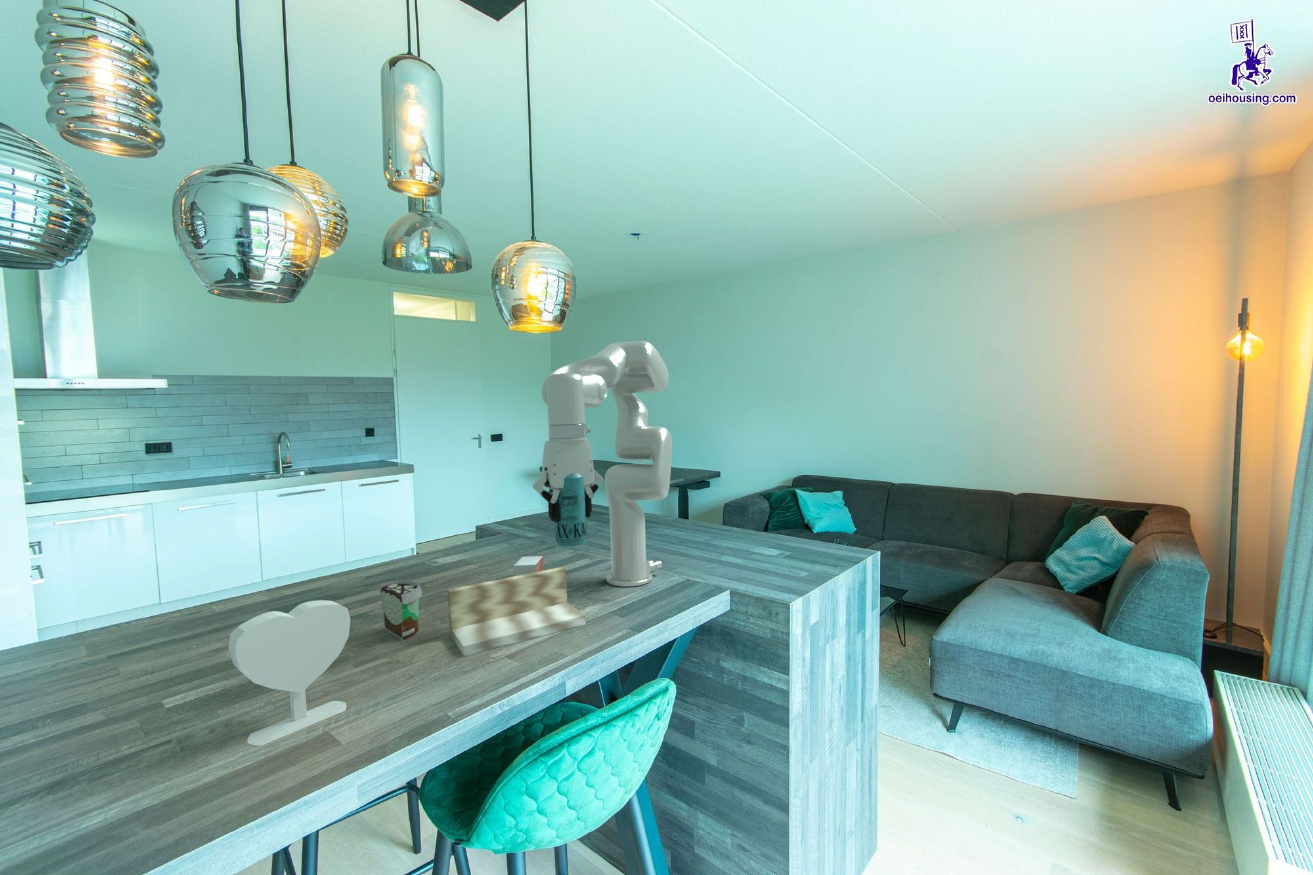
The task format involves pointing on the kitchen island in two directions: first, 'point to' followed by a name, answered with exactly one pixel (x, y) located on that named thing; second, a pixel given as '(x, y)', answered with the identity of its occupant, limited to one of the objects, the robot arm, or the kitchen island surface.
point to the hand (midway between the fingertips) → (570, 518)
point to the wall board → (510, 610)
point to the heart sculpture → (291, 658)
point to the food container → (401, 607)
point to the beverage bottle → (571, 512)
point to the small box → (528, 565)
